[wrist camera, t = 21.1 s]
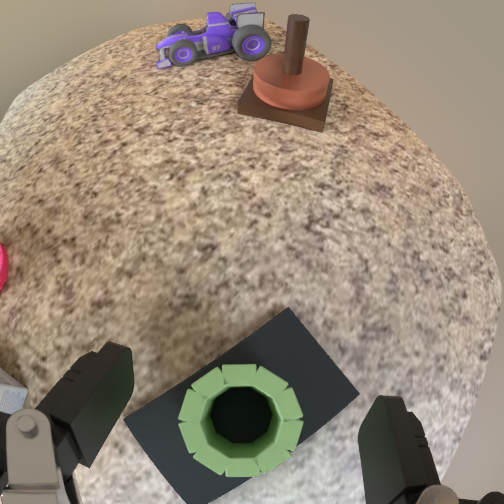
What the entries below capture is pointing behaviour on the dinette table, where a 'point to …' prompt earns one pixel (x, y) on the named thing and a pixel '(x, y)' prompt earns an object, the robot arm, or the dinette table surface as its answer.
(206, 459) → the green ring
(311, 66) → the stand
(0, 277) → the fitness band
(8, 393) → the medicine box
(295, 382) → the mat
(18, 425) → the robot arm
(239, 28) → the toy race car
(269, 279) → the dinette table surface
